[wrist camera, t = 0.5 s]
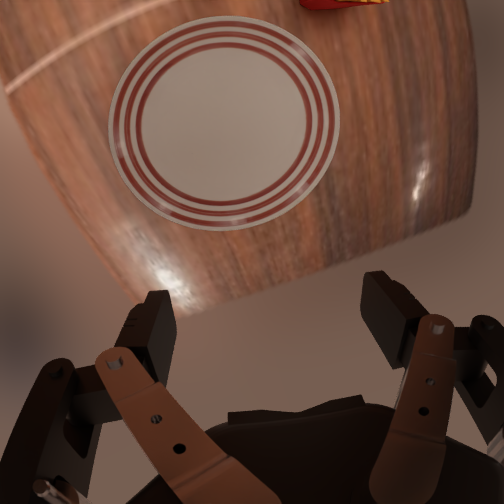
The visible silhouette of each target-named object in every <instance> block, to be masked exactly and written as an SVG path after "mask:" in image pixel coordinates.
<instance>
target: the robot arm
mask: <svg viewBox="0 0 504 504" xmlns="http://www.w3.org/2000/svg"><path fill="white" fill-rule="evenodd" d="M360 311H361V315H362V318H363V320H364V322H365V323H366V325H367V327H368V328H369V330H370V331H371V333H372V335H373V337H374V338H375V340H376V342H377V343H378V345H379V347H380V348H381V350H382V352H383V353H384V355H385V357H386V359H387V360H388V362H389V364H390V366H391V367H392V369H397V368H402V367H404V368H405V372H404V375H403V378H402V381H401V385H400V388H399V391H398V394H397V397H396V400H395V403H394V406H393V408H390V407H387V406H383V405H379V404H370V403H365V402H364V400H363V397H362V395H356V396H351V397H346V398H341V399H335V400H330V401H328V402H325V403H323V404H320V405H318V406H315V407H312V408H310V409H307V410H304V411H302V412H295V413H294V412H281V411H269V410H253V411H241V412H228V422H225V423H222V424H219V425H217V426H214V427H212V428H210V429H208V430H206V431H205V432H204V431H203V430H202V429H201V428H200V427H199V426H198V425H197V424H196V423H195V421H194V420H193V419H192V418H191V417H190V416H189V415H188V414H187V413H186V411H185V410H184V409H183V408H182V407H181V406H180V405H179V404H178V402H177V401H176V400H175V399H174V398H173V397H172V395H171V394H170V393H169V392H168V391H167V389H166V385H167V380H168V374H169V369H170V364H171V359H172V354H173V350H174V345H175V340H176V335H177V331H176V330H177V329H176V321H175V317H174V312H173V308H172V304H171V299H170V295H169V292H168V290H157V291H149V292H148V295H147V297H146V299H145V302H144V303H140V304H137V305H136V306H135V307H134V308H133V309H132V310H130V312H129V314H128V317H127V319H126V321H125V323H124V325H123V326H124V327H122V329H121V332H120V334H119V337H118V339H117V341H116V343H115V345H114V347H113V348H110V349H107V350H105V351H103V352H102V353H101V354H100V355H99V356H98V357H97V358H96V361H95V365H91V366H86V367H81V368H76V369H75V367H74V365H73V363H72V362H71V361H70V360H69V359H65V358H58V359H54V360H52V361H50V362H48V363H47V364H45V366H43V368H42V369H41V371H40V373H39V375H38V377H37V379H36V381H35V383H34V385H33V387H32V389H31V391H30V393H29V395H28V397H27V399H26V401H25V403H24V405H23V408H22V410H21V412H20V414H19V417H18V419H17V421H16V423H15V426H14V428H13V430H12V433H11V435H10V438H9V440H8V443H7V445H6V448H5V450H4V453H3V456H2V458H1V461H0V504H92V503H91V502H90V501H89V500H88V499H87V495H88V489H89V484H90V478H91V474H92V468H93V464H94V458H95V454H96V449H97V445H98V440H99V436H100V432H101V427H102V424H103V423H107V422H112V421H117V420H122V419H123V420H124V422H125V424H126V425H127V427H128V429H129V430H130V432H131V434H132V435H133V437H134V438H135V440H136V441H137V443H138V444H139V446H140V447H141V449H142V450H143V452H144V453H145V455H146V456H147V458H148V459H149V461H150V462H151V464H152V465H153V467H154V468H155V469H156V471H157V472H158V475H157V476H156V477H155V478H154V479H153V480H152V481H150V482H149V483H148V484H147V485H146V486H145V487H144V488H143V489H142V490H140V491H139V492H138V493H137V494H136V495H135V496H134V497H133V498H132V499H131V500H129V501H128V502H127V503H126V504H504V327H503V326H502V325H501V324H500V323H499V322H498V321H497V320H496V319H494V318H493V317H490V316H487V315H477V316H475V317H474V318H473V319H472V322H471V325H470V327H454V324H453V323H452V322H451V320H449V319H448V318H446V317H444V316H442V315H438V314H430V313H429V312H428V311H427V310H426V309H425V308H424V307H423V306H422V304H420V302H419V301H418V300H417V299H415V297H414V296H413V295H412V294H410V291H409V290H408V289H407V288H406V287H405V286H404V285H402V284H400V283H399V282H397V281H395V280H393V281H392V280H391V279H390V277H389V276H388V275H387V274H386V273H385V272H384V271H382V270H381V271H373V272H366V273H365V274H364V278H363V287H362V295H361V304H360ZM487 364H489V365H490V366H491V367H492V369H493V370H494V372H495V373H496V376H497V384H496V386H494V385H493V383H492V382H491V380H490V379H489V377H488V376H487V375H486V373H485V372H484V371H485V369H486V366H487ZM454 387H455V388H456V390H457V391H458V393H459V395H460V397H461V398H462V400H463V402H464V403H465V405H466V407H467V409H468V410H469V412H470V414H471V416H472V418H473V419H474V421H475V423H476V425H477V427H478V429H479V430H480V432H481V434H482V436H483V438H484V440H485V442H486V444H487V446H488V448H487V455H486V454H483V453H482V452H479V451H477V450H475V449H473V448H471V447H469V446H467V445H464V444H463V443H460V442H458V441H456V440H454V439H452V438H450V437H448V436H446V432H447V427H448V422H449V417H450V411H451V405H452V398H453V391H454Z"/></svg>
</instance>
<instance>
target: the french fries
mask: <svg viewBox="0 0 504 504" xmlns="http://www.w3.org/2000/svg"><path fill="white" fill-rule="evenodd" d="M299 1H300V5H302V6H304V7H306V8H308V9H310V10H323V9H336V8H344V7H352V6H360V5H370V4H382V3H384V2H389V0H299Z"/></svg>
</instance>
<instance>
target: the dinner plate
mask: <svg viewBox="0 0 504 504" xmlns="http://www.w3.org/2000/svg"><path fill="white" fill-rule="evenodd" d="M339 129H340V111H339V104H338V99H337V94H336V91H335V88H334V85H333V82H332V80H331V78H330V76H329V74H328V72H327V71H326V69H325V67H324V65H323V64H322V63H321V61H320V60H319V58H318V57H317V56H316V55H315V54H314V53H313V51H312V50H311V49H310V48H309V47H308V46H306V45H305V44H304V43H303V42H302V41H301V40H299V39H298V38H297V37H295V36H294V35H292V34H291V33H289V32H287V31H286V30H284V29H282V28H280V27H278V26H276V25H273V24H271V23H268V22H265V21H262V20H258V19H254V18H248V17H242V16H214V17H208V18H202V19H198V20H194V21H191V22H187V23H185V24H182V25H180V26H177V27H175V28H173V29H171V30H169V31H168V32H166V33H164V34H162V35H161V36H159V37H158V38H156V39H155V40H154V41H152V42H151V43H150V44H149V45H147V46H146V47H145V48H144V49H143V50H142V51H141V52H140V53H139V54H138V55H137V56H136V57H135V58H134V59H133V61H132V62H131V63H130V65H129V66H128V67H127V69H126V70H125V72H124V74H123V75H122V77H121V79H120V81H119V83H118V85H117V87H116V90H115V92H114V95H113V98H112V102H111V106H110V112H109V120H108V137H109V144H110V149H111V153H112V157H113V160H114V162H115V165H116V167H117V170H118V172H119V174H120V176H121V177H122V179H123V181H124V182H125V184H126V185H127V186H128V188H129V189H130V190H131V192H132V193H133V194H134V195H135V196H136V197H137V198H138V199H139V200H140V201H141V202H142V203H143V204H144V205H146V206H147V207H148V208H149V209H151V210H152V211H154V212H155V213H157V214H158V215H160V216H162V217H164V218H166V219H168V220H170V221H172V222H174V223H177V224H180V225H183V226H187V227H191V228H195V229H201V230H209V231H230V230H239V229H244V228H248V227H252V226H256V225H259V224H262V223H265V222H267V221H270V220H272V219H274V218H276V217H278V216H280V215H282V214H284V213H285V212H287V211H289V210H290V209H291V208H293V207H294V206H296V205H297V204H298V203H299V202H301V201H302V200H303V199H304V198H305V197H306V196H307V195H308V194H309V193H310V192H311V191H312V190H313V189H314V187H315V186H316V185H317V184H318V182H319V181H320V180H321V178H322V177H323V175H324V173H325V172H326V170H327V168H328V166H329V164H330V162H331V160H332V158H333V155H334V152H335V149H336V145H337V141H338V136H339Z"/></svg>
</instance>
